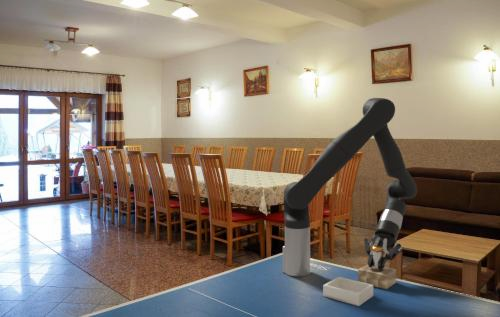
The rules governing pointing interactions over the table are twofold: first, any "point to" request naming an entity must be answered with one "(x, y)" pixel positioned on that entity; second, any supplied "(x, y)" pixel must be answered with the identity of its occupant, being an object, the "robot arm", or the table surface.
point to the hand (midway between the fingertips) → (374, 267)
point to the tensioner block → (377, 277)
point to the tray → (348, 291)
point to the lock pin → (376, 257)
